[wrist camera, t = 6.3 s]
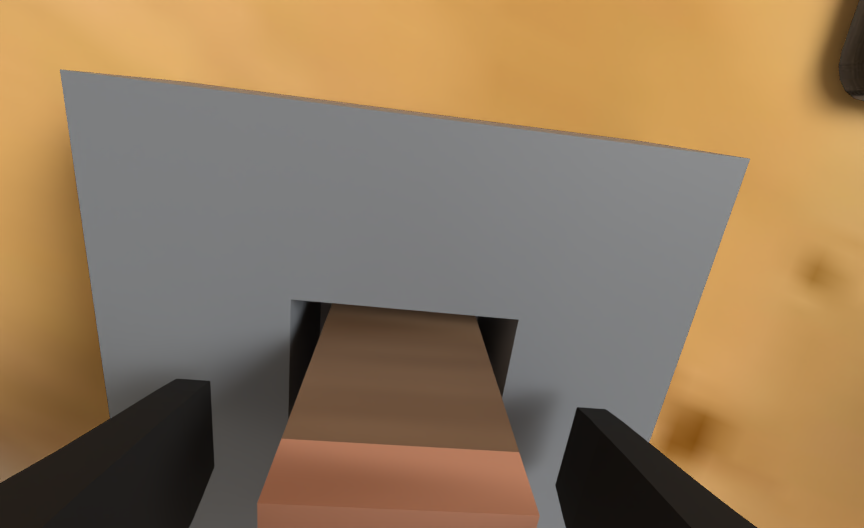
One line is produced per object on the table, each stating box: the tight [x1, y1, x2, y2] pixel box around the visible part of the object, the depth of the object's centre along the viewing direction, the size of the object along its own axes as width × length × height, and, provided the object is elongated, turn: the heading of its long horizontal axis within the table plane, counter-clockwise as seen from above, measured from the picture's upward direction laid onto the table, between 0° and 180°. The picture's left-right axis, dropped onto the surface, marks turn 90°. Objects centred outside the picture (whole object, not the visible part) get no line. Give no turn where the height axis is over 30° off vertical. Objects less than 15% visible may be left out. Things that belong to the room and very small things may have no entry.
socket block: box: [60, 70, 750, 528], centre depth 12 cm, size 12×12×4 cm
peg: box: [257, 303, 540, 528], centre depth 9 cm, size 3×3×8 cm
